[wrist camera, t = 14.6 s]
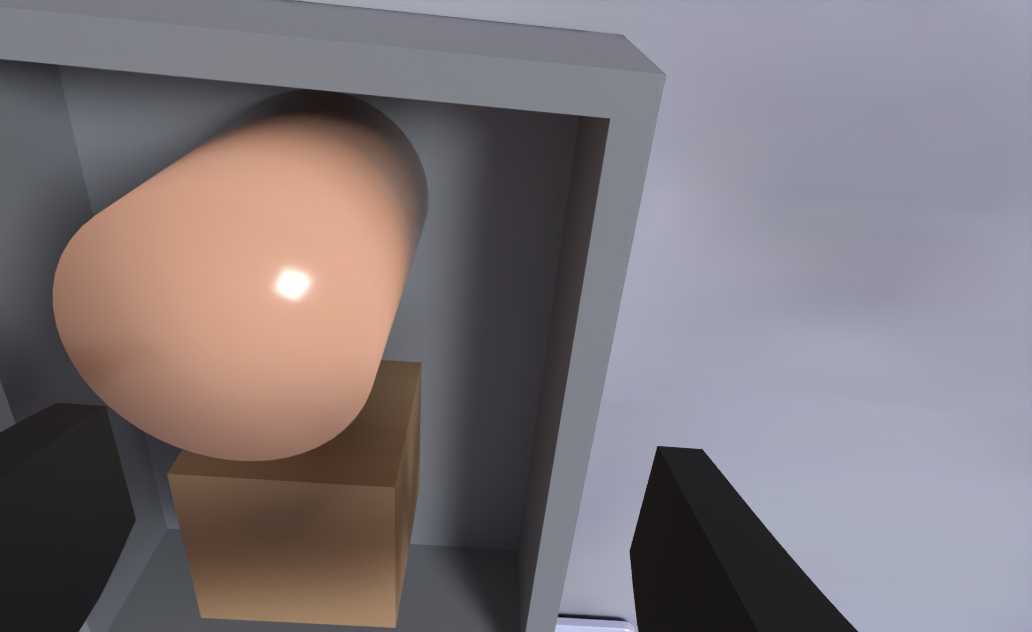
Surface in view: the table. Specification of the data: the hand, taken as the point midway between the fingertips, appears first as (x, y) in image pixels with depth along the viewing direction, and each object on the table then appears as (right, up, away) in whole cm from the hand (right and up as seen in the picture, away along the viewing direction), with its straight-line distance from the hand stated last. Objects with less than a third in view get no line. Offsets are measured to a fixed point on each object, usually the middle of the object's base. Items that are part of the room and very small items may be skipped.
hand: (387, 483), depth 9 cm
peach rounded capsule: (-3, +5, +8) cm, 10 cm away
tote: (-3, +2, +10) cm, 11 cm away
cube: (-4, -1, +11) cm, 12 cm away
